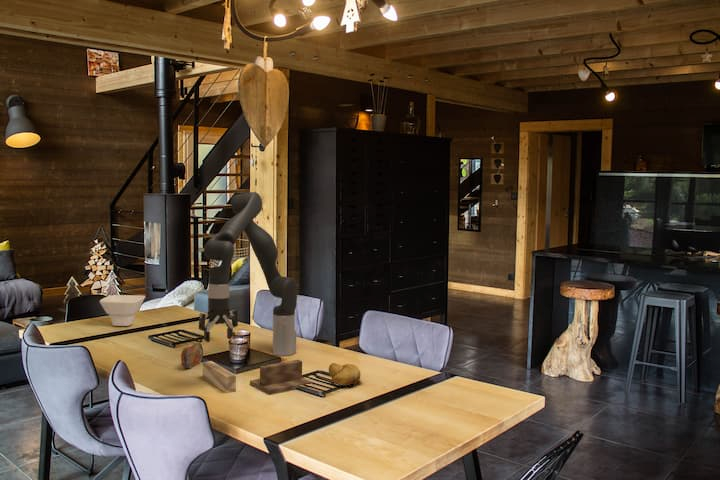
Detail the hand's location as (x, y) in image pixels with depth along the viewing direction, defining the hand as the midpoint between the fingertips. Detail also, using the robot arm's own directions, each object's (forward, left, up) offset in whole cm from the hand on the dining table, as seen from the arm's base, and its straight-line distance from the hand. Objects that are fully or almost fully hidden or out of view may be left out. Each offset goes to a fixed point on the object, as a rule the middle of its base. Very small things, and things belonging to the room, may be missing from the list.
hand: (218, 340), depth 240 cm
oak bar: (0, 0, -17) cm, 17 cm away
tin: (-2, -28, -17) cm, 33 cm away
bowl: (-3, -114, -17) cm, 115 cm away
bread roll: (-39, +26, -17) cm, 50 cm away
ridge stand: (-18, +14, -16) cm, 28 cm away
